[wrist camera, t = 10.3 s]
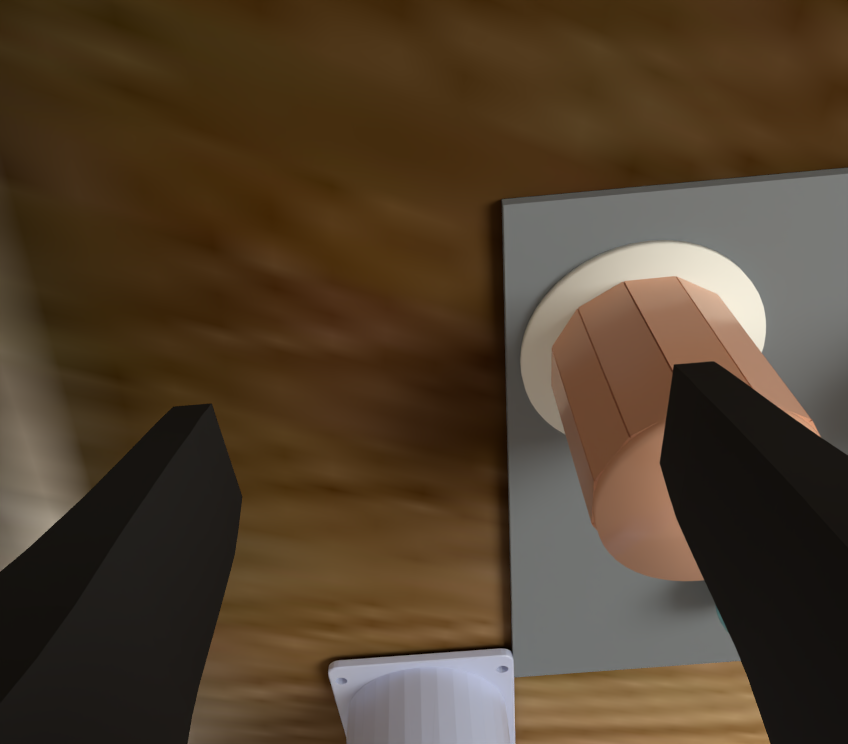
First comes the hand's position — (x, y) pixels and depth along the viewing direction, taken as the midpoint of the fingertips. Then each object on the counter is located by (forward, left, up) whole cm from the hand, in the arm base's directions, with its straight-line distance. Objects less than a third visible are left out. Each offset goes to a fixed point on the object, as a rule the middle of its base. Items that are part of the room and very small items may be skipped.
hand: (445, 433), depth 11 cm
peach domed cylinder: (-5, -6, -9) cm, 12 cm away
